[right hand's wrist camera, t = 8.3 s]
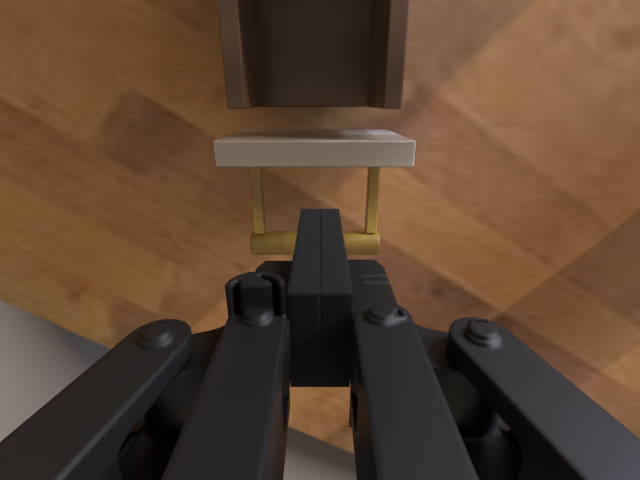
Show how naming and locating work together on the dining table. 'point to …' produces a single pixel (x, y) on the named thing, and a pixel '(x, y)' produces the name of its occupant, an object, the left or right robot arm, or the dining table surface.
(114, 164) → the dining table surface
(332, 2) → the drawer
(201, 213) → the dining table surface
